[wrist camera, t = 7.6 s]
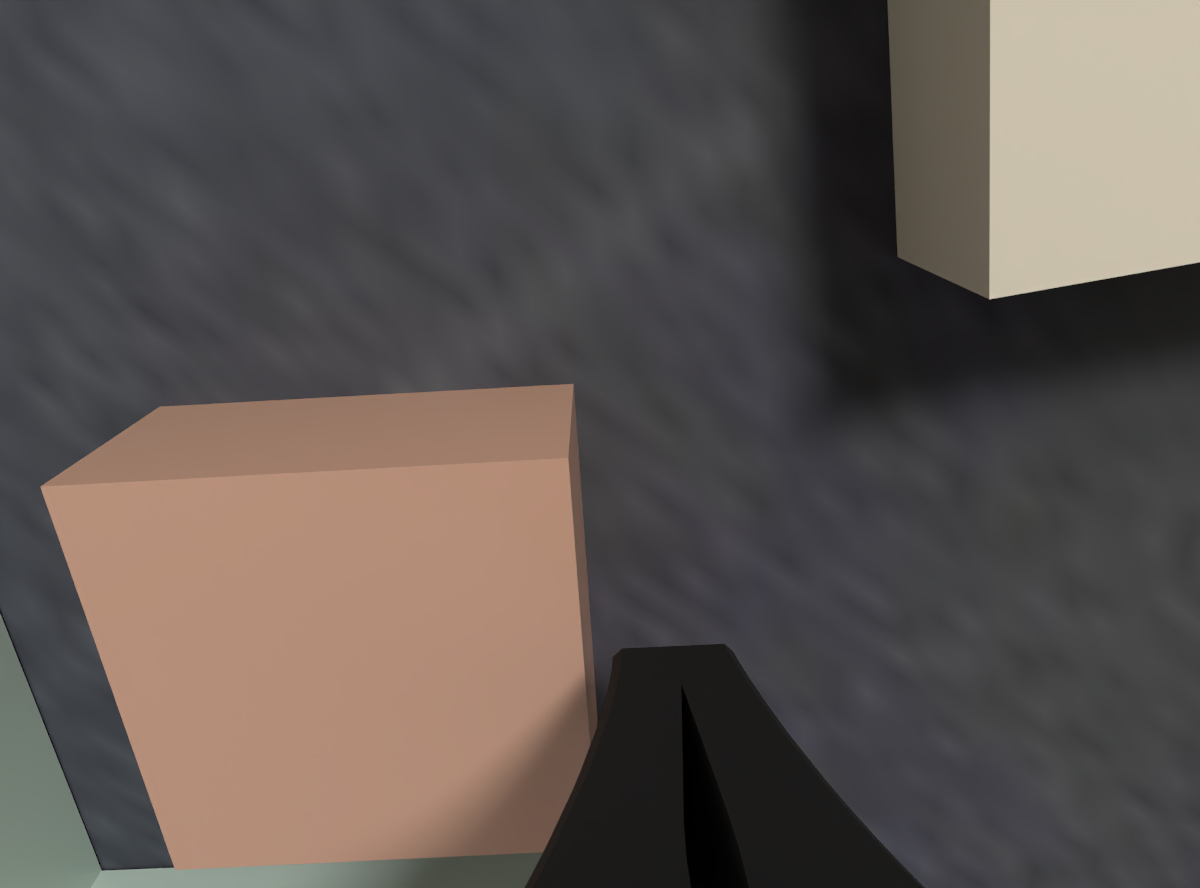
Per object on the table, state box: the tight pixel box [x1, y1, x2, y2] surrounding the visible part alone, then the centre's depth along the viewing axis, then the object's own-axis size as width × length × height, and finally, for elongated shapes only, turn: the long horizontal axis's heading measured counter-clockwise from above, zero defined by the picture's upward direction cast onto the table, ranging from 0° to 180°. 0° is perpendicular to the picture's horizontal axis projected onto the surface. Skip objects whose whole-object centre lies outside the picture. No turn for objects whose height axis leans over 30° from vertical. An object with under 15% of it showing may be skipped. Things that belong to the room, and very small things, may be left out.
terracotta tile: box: [41, 384, 597, 870], centre depth 12 cm, size 6×6×3 cm
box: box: [0, 614, 543, 888], centre depth 9 cm, size 22×12×4 cm, turn 3°
